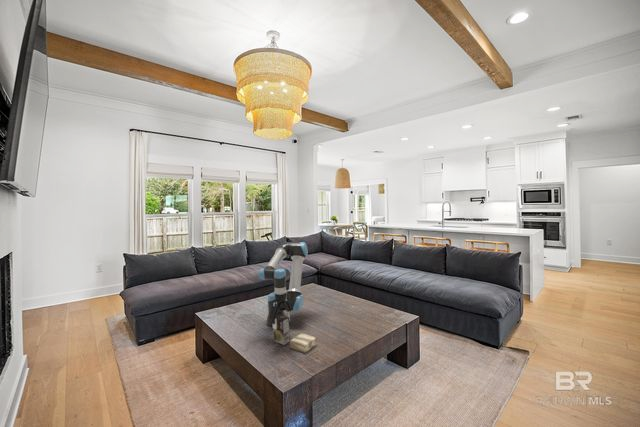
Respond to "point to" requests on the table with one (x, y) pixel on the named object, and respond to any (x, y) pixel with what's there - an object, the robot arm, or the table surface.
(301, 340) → the birch block
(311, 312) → the table surface
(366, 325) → the table surface
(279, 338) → the coffee box
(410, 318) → the table surface
